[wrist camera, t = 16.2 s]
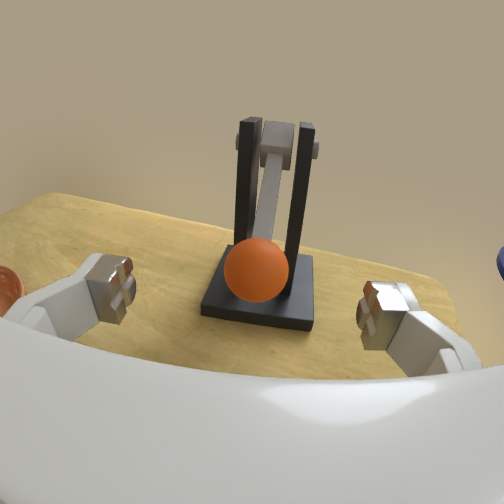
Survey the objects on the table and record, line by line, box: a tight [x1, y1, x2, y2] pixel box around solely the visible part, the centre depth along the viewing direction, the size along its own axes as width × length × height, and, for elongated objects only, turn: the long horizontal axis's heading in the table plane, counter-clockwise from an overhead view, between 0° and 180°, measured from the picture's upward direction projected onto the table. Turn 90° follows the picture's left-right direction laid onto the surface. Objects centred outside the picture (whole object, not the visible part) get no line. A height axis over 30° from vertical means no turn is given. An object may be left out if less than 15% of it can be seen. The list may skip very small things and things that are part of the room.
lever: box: [224, 121, 295, 303], centre depth 19 cm, size 13×4×4 cm
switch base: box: [201, 117, 319, 331], centre depth 24 cm, size 10×9×15 cm
